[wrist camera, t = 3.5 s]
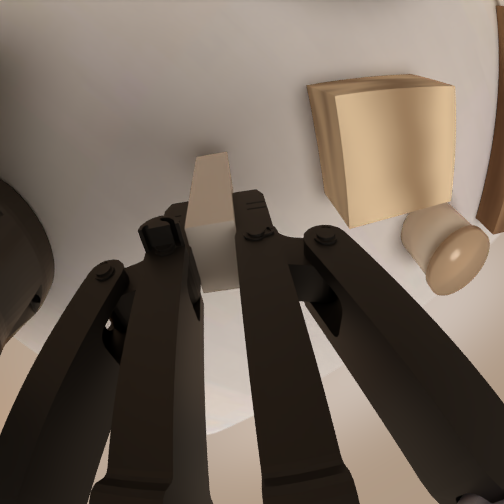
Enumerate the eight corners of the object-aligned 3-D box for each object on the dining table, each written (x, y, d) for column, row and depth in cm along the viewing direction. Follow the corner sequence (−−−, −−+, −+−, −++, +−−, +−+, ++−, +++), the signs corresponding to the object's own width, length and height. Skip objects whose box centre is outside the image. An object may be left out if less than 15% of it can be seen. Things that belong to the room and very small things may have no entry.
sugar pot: (392, 259, 26) (421, 303, 22) (404, 197, 22) (443, 237, 18) (444, 248, 26) (474, 286, 22) (459, 191, 22) (498, 226, 18)
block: (323, 192, 21) (349, 228, 18) (305, 85, 17) (334, 96, 13) (414, 171, 21) (450, 201, 17) (409, 73, 16) (454, 86, 12)
